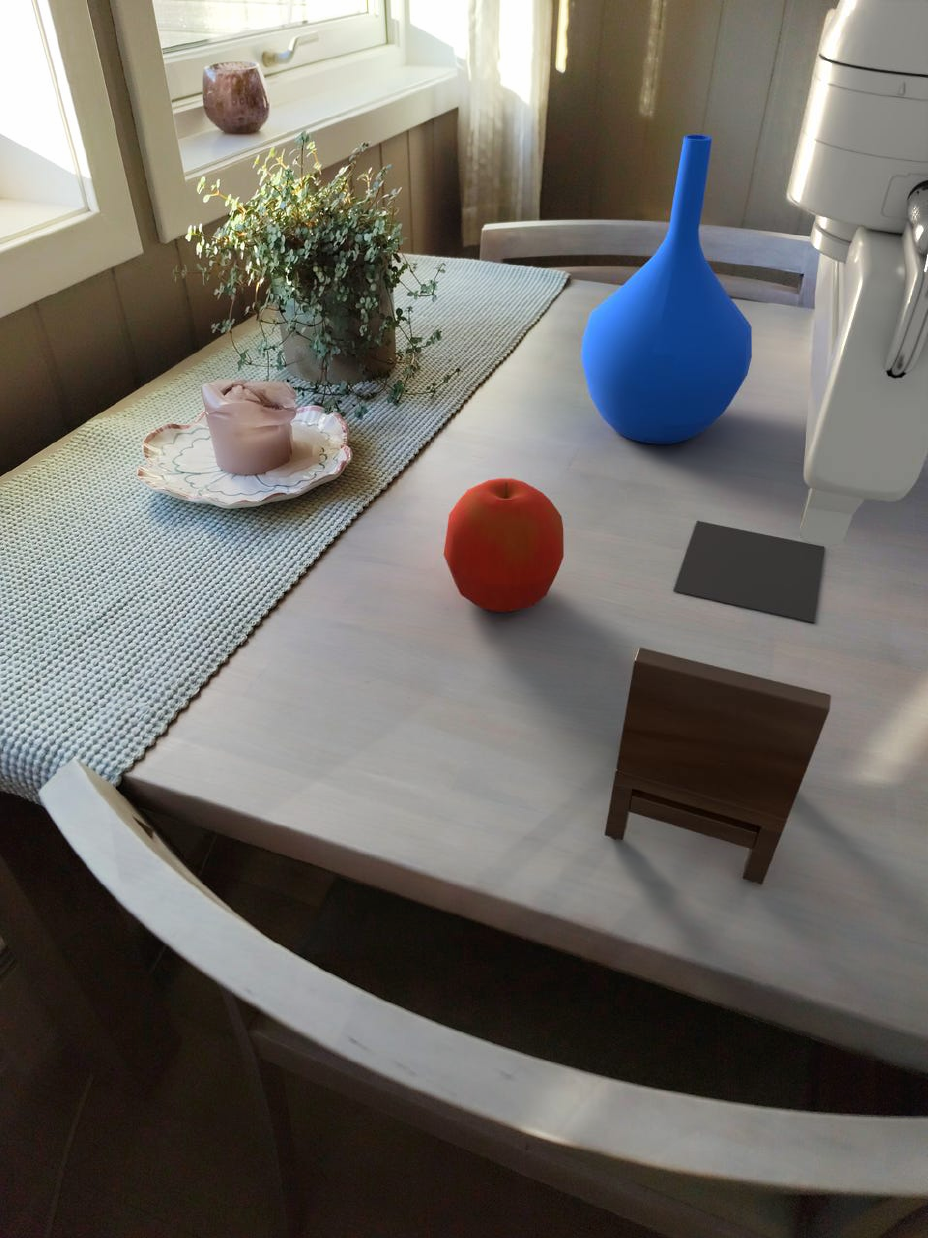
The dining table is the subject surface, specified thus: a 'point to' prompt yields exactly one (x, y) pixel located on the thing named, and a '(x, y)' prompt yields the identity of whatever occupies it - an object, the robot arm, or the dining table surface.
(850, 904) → the dining table surface
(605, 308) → the vase
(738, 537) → the pad
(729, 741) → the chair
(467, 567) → the apple
